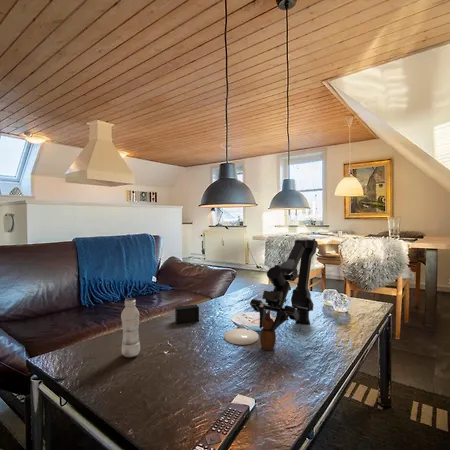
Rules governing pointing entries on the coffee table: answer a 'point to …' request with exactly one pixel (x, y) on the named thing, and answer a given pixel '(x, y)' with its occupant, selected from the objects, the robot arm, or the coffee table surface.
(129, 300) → the plastic bottle
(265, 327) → the wooden figurine
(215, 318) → the coffee table surface
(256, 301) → the robot arm
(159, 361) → the coffee table surface
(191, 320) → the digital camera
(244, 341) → the ceramic plate
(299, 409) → the coffee table surface
